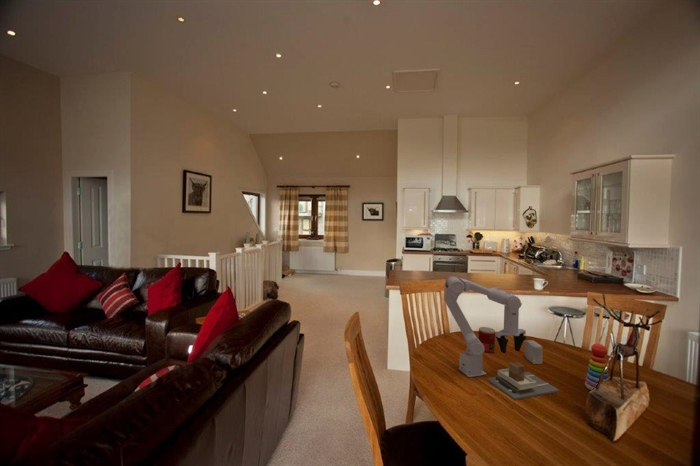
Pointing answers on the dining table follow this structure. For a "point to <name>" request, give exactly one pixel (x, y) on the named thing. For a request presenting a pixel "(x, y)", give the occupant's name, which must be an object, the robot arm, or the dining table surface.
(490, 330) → the canned food
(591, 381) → the stacking toy
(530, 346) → the medicine box
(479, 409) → the dining table surface
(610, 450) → the dining table surface
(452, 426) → the dining table surface
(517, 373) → the walnut block
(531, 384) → the cream tray
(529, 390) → the track
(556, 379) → the dining table surface
